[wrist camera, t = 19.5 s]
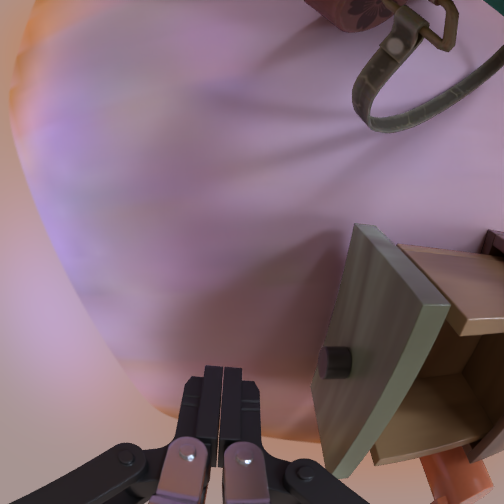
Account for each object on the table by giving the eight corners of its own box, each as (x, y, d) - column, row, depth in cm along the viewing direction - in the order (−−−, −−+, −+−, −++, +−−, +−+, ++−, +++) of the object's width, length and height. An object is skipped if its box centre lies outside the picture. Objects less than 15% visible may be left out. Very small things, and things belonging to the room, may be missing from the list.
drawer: (292, 386, 19) (305, 482, 13) (331, 220, 15) (389, 303, 8) (453, 375, 20) (491, 442, 13) (513, 246, 16) (583, 301, 9)
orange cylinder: (410, 396, 22) (454, 503, 12) (457, 389, 22) (505, 479, 12) (389, 428, 24) (421, 525, 14) (435, 420, 24) (471, 506, 14)
